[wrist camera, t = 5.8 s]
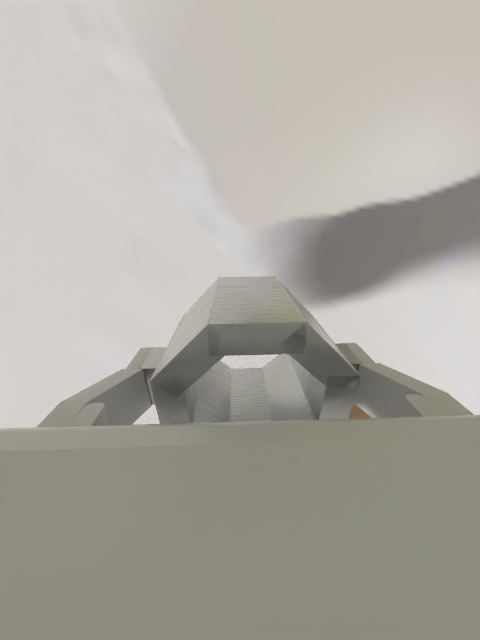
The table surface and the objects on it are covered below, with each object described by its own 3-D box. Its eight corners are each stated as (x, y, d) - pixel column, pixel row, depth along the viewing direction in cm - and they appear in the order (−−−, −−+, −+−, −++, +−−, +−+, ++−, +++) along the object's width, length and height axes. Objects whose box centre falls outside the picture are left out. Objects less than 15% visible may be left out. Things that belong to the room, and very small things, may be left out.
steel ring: (179, 277, 10) (135, 325, 6) (314, 275, 10) (377, 320, 6) (193, 383, 13) (171, 472, 8) (299, 380, 13) (334, 466, 8)
